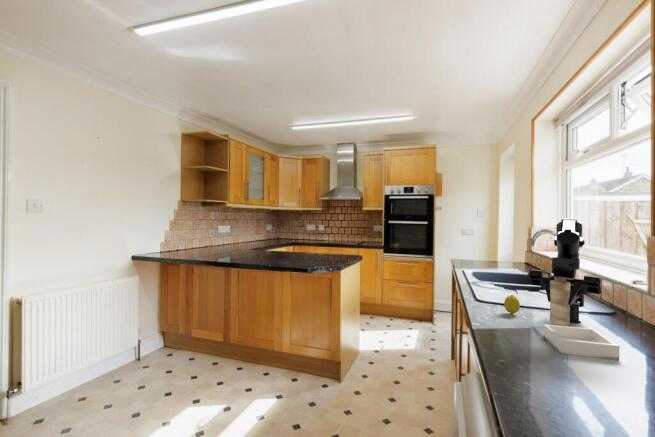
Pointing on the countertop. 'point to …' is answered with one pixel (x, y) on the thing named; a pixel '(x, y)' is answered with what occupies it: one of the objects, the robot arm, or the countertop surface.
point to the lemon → (512, 304)
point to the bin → (581, 342)
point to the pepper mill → (559, 301)
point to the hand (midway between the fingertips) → (559, 302)
